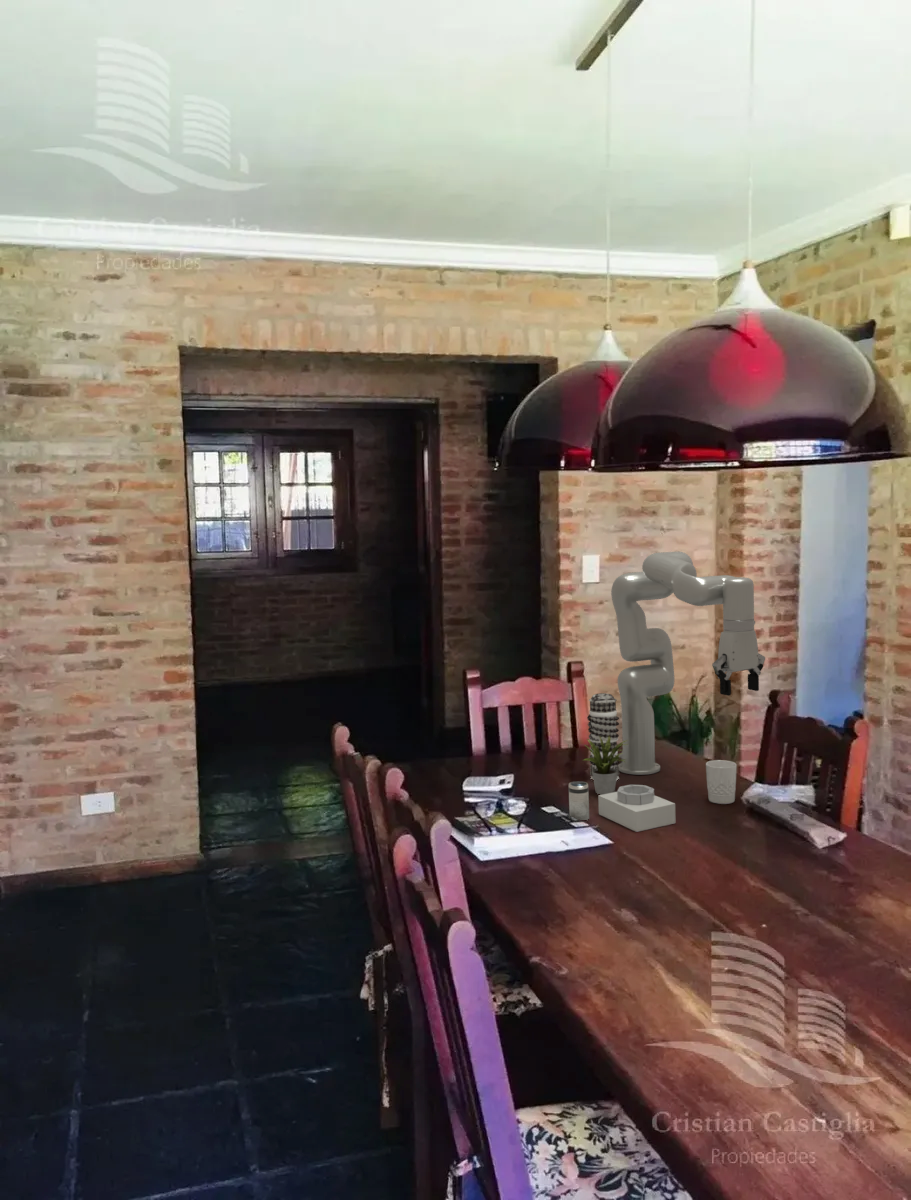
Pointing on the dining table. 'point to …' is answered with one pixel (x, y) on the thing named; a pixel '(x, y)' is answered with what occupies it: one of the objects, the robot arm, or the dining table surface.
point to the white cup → (721, 781)
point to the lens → (579, 800)
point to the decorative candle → (603, 725)
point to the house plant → (604, 767)
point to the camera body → (637, 808)
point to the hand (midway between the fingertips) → (739, 692)
